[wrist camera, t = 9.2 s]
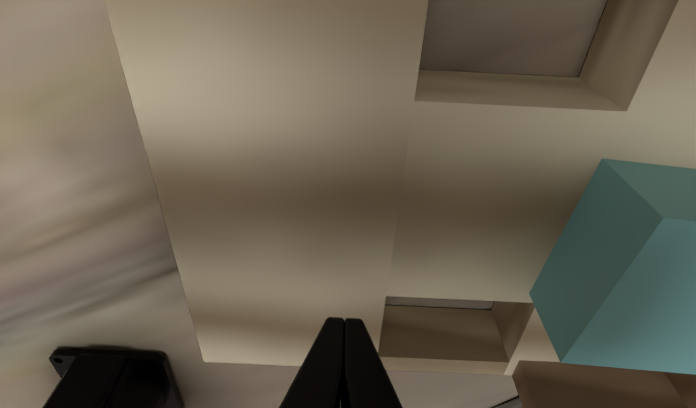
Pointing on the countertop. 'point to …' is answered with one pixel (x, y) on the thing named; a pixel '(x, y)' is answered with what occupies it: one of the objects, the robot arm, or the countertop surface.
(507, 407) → the skincare box
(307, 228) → the wooden tray
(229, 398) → the countertop surface
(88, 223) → the countertop surface
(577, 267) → the block
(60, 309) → the countertop surface
